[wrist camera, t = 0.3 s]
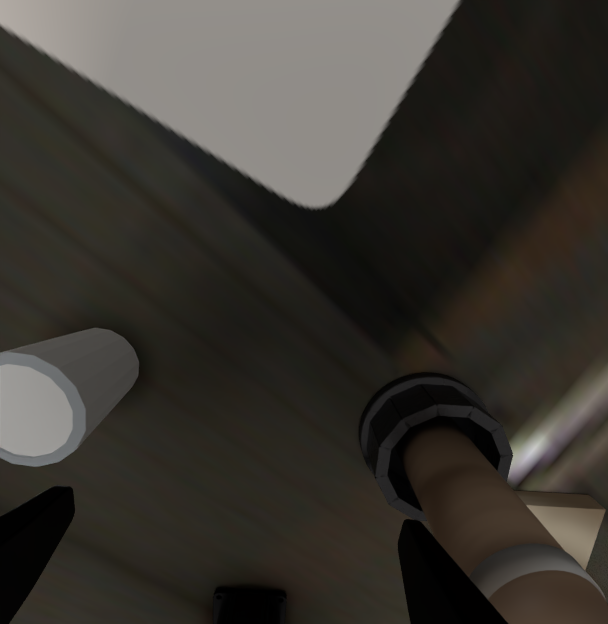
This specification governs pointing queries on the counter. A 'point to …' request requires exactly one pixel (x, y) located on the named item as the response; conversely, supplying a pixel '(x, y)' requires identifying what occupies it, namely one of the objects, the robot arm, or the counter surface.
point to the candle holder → (414, 410)
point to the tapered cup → (494, 531)
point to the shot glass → (61, 393)
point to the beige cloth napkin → (567, 520)
